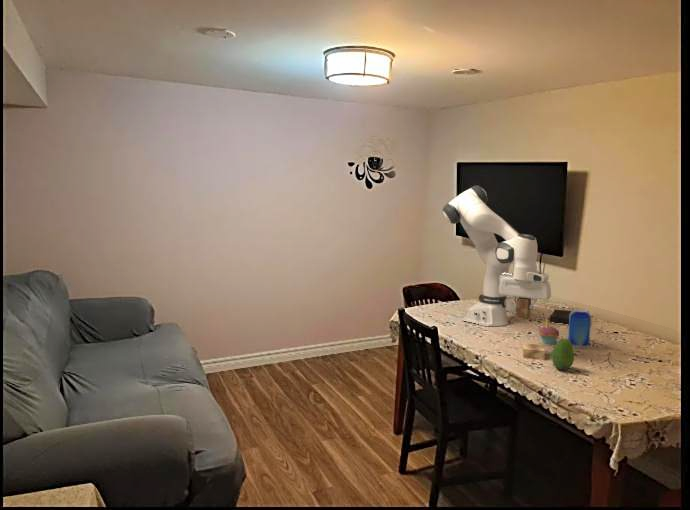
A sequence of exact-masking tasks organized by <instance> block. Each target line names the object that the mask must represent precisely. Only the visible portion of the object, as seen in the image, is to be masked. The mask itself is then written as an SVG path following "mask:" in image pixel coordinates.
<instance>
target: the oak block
mask: <svg viewBox="0 0 690 510" xmlns="http://www.w3.org/2000/svg"><path fill="white" fill-rule="evenodd" d="M522 344H523V345H522V358H523V359H529V358H530V360H531V358H532V360H539V359H542V361H544V360H545V353H546V349H545V345H544V344H534V343H533V344H532V343H525V342H523V343H522Z"/></svg>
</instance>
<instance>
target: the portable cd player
mask: <svg viewBox="0 0 690 510" xmlns="http://www.w3.org/2000/svg"><path fill="white" fill-rule="evenodd" d="M571 311H572V310H567V309H565V310H564V309H554V310H553V311H552V312H551V314H550V315H549V316H550V317H549V323H550V322H554V323H553V324H555V323H563V324H568V325H567V326H569V315H570V313H571ZM563 324H562V325H563Z"/></svg>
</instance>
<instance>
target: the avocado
mask: <svg viewBox="0 0 690 510" xmlns="http://www.w3.org/2000/svg"><path fill="white" fill-rule="evenodd" d="M574 352H575V351H574V347H572V343H571V341H570V340H568V338H561V339H559V340H558V341H557V343H556V344H555V346H554V347H553V350H552V351H551V360H552V364H553V366H554V367H555V368H556V369H558V370H561V371H566V370H568V369H570V368H571V367H572V366H573V363H574V361H575V353H574Z"/></svg>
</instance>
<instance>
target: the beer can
mask: <svg viewBox="0 0 690 510" xmlns="http://www.w3.org/2000/svg"><path fill="white" fill-rule="evenodd" d="M570 311H571V313H570V315H569V325H568V334H567V335H568V336H567V337H568V338H567V339H568V340H570V341H571V343H572V347H573V349H574V348H575V349H587V348H588V347H589V346H590V340H591V339H590V337H591V323H592V315H591V313H590V311H589V309H588V308H587V309H586V308H582V307H581V308H580V307H576V308H575V307H574V308H572V310H570Z"/></svg>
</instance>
